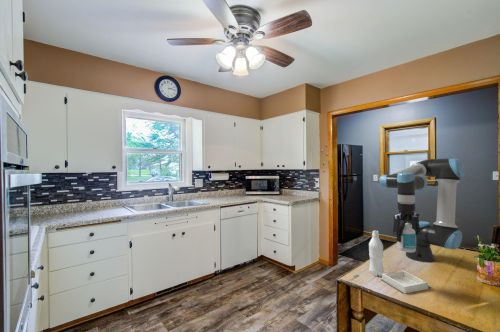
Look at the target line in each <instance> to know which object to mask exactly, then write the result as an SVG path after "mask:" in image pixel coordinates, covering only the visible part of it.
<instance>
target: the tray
mask: <svg viewBox="0 0 500 332" xmlns="http://www.w3.org/2000/svg"><path fill="white" fill-rule="evenodd" d="M381 280H384V281H385V282H387V283H389V284H390V285H392V286H393V287H395V288H397V289H398V290H400V291H402V292H403V293H405V294H409V293H413V292H414V293H415V292H419V291H425V289H426V290H429V289H428V286H429V282H428V281H425V280H423V279H421V278H419V277H418V276H416V275H413V274H412V273H410V272H407V271H406V270H403V269H402V270H397V271H391V272H390V271H389V272H384V273H383V274H382V276H381ZM385 282H384V283H385ZM393 287H392V288H393ZM398 290H397V291H398Z"/></svg>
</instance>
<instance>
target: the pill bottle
mask: <svg viewBox="0 0 500 332" xmlns="http://www.w3.org/2000/svg"><path fill="white" fill-rule="evenodd" d="M402 236H403V249H401V248H398V249H399V250H400V251H402V252H405V253H406V252H415V251H416V234H415V230H414V229H412V224H408V222H406V223H405V226H404V229H403V232H402Z"/></svg>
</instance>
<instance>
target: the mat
mask: <svg viewBox="0 0 500 332" xmlns="http://www.w3.org/2000/svg"><path fill="white" fill-rule="evenodd" d="M380 281H382V282H383V283H384V284H387V286H389V287H391V288H392V289H394V290H396V291H397V292H399V293H401V294H402V295H403V294H404V295H405V294H406V293H403V292H402V291H400V290H398V289H397V288H395V287H393V286H392V285H390V284H389V283H387V282H385V281H384V280H382V279H380ZM430 289H433V286H430V285H428V289H425V290H430ZM425 290H424V291H425Z"/></svg>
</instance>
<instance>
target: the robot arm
mask: <svg viewBox="0 0 500 332" xmlns="http://www.w3.org/2000/svg"><path fill="white" fill-rule="evenodd" d="M465 169H466V168H465V165H464V163H463V160H461V159H459V158H451V157H450V158H428V159H424V160H420V161H418V162H415V163H412V164H411V166H409V167H406V168H404V169H401V170H399V171H397V172H394V173H392V174H382V175H381V176H380V177H379V180H378V181H379V185H380V187H382V188H386V189H397V210H398V214H393V219H394V220H393V227H392V228H393V229H392V234H393V235H395V236H396V241H397V248H398V249H399V248H401V249H403V236H402V232H403V229H404V226H405V223H408V224H412V229H414V230H415V234H416V251H415V252H405V256H406V257H407V258H409V259H410V260H413V261H419V262H424V263H425V262H426V263H430V262H433V261H434V260H435V255H434V254H433V250H432V248H431V245H432V246H437V247H440V248H445V249H446V250H447V249H449V250H452V251H453V250H457V249H458V248H460V246H461V244H462V240H463V233H462V231H461V230H460V229H459V226H457V225H456V207H457V203H456V201H457V184H458V183H460V182H461V179H463V178H465V176H466V175H465V174H466V170H465ZM426 177H427V178H428V177H429V178H435V181H436V182H437V201H436V204H437V205H436V218H435V219H436V221H435V222H433V223H432V225H431V223H430V222H429V221H424V220H422V221H421V220H420V219H419V217H420V213H417V212H415V211H416V204H415V203H416V191H420V190H423V189H425V188H427V186H428V180H427V178H426Z"/></svg>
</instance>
